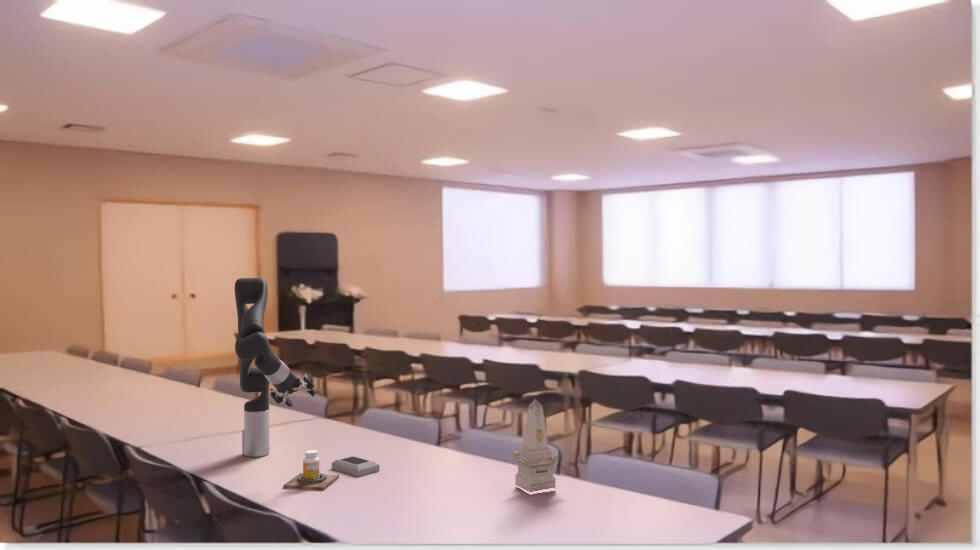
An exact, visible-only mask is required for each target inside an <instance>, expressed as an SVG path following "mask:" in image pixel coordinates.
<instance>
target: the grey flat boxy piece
mask: <svg viewBox="0 0 980 550" xmlns="http://www.w3.org/2000/svg"><path fill="white" fill-rule="evenodd" d="M331 469H332V470H335V471H337V472H342V473H344V472H345V474H348V475H352V476H354V475H355V477H362V476H366V475H369V474H370V475H371V474H373V473H376V472H380V464H379V463H377V462H375V461H373V460H370V459H366V458H363V457H359V456H355V455H350V456H347V457H342V458H339V459H336V460H334V461H332V463H331Z"/></svg>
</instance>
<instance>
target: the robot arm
mask: <svg viewBox="0 0 980 550" xmlns="http://www.w3.org/2000/svg"><path fill="white" fill-rule="evenodd" d="M268 288H269V287H268V282H267V281H266V279H265V278H263V277H241V278H238V279H236V280H235V283H234V299H235V307H236V314H237V338H236V341H235V345H234V350H235V354H236V356H237V357H238V358H239V386H240V390H241V391H242V392H243V393H260V394H259V395H258V396H257V397H255V398H253V399H251V400H247V401H246V402H245V403H244V404H243V413H244V414H243V419H244V421H243V423H244V424H243V427H244V429H243V430H242V432H241V450H242V451H241V455H242V456H244V457H248V458H257V457H264V456H268V455H269V454H270V450H271V449H270V396H271V398H272V399H273V400H274V401H275V402H276V404H277V405H278V404H279V405H280V404H281V403H284V404H285V405H286V406H287V407H290V408H292V407H293V406H294V405H293V401H292V400H291V399H290V398H289V397H288V395H292V394H294V393H297V392H298V391H300V392H303V391H305V392H306V391H307V392H308V393H309V395H311V397H313V398H314V397H316V391H315V389H314V388H315V381H314V380H313V379H312V378H311V377H310V376H309V375H308V374H307V373H302V376H299V377H298V376H296V375H295V373H294V372H293V371H292V370H291V368H289V367H288V366H287V364H286V363H285V361H282V360H281V359H280V358H279V357H278V355H277V354H275V352H274V350H273V348H272V347H271V344H270V342H269V338H268V337H267V335H266V334H265V329H264V318H265V313H266V309H267V303H268V298H269V297H268V296H269V293H268V292H269V291H268ZM248 305H251V306H250V307H248ZM253 362H254V365H255V366H256V367H252V368H250V367H251V365H252V363H253ZM270 384H271V385H272V386H273V387H274V388H270ZM278 393H280V394H281V396H280V395H279V394H278Z"/></svg>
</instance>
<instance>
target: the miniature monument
mask: <svg viewBox="0 0 980 550" xmlns="http://www.w3.org/2000/svg"><path fill="white" fill-rule="evenodd" d="M526 415H527V417H526V422H525V428H524V429H525V430H524V433H523V441H522V445H521V446H520V449H519V450H518V451H516V450H514V451H513V459H514V460H516V461H517V473H515V485H517V486H519V487H521V488H523V489H525V490H527V491H529V492H533V491H538V490H543V489H549V488H555V489H556V477H555V476H554V464H556V463H558V454H555V455H553V453H552V452H551V448H550V447H549V445H548V443H549V442H548V436H547V430H546V423H545V416H544V408H543V405H542V404H541V403H540V402H539V401H538V400H537V399H536V398H535V399H534V400H533V401H531V403H529V404H528V409H527V414H526Z"/></svg>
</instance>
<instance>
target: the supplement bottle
mask: <svg viewBox="0 0 980 550" xmlns="http://www.w3.org/2000/svg"><path fill="white" fill-rule="evenodd" d="M304 456H305V457H304V458H303V459H302V470H303V471H302V473H303V480H317V479H320V473H321V472H320V470H321V469H320V466H321V465H320V463H321V462H320V461H321V460H320V457H318V450H316V449H309V450H306V451H305V452H304Z"/></svg>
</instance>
